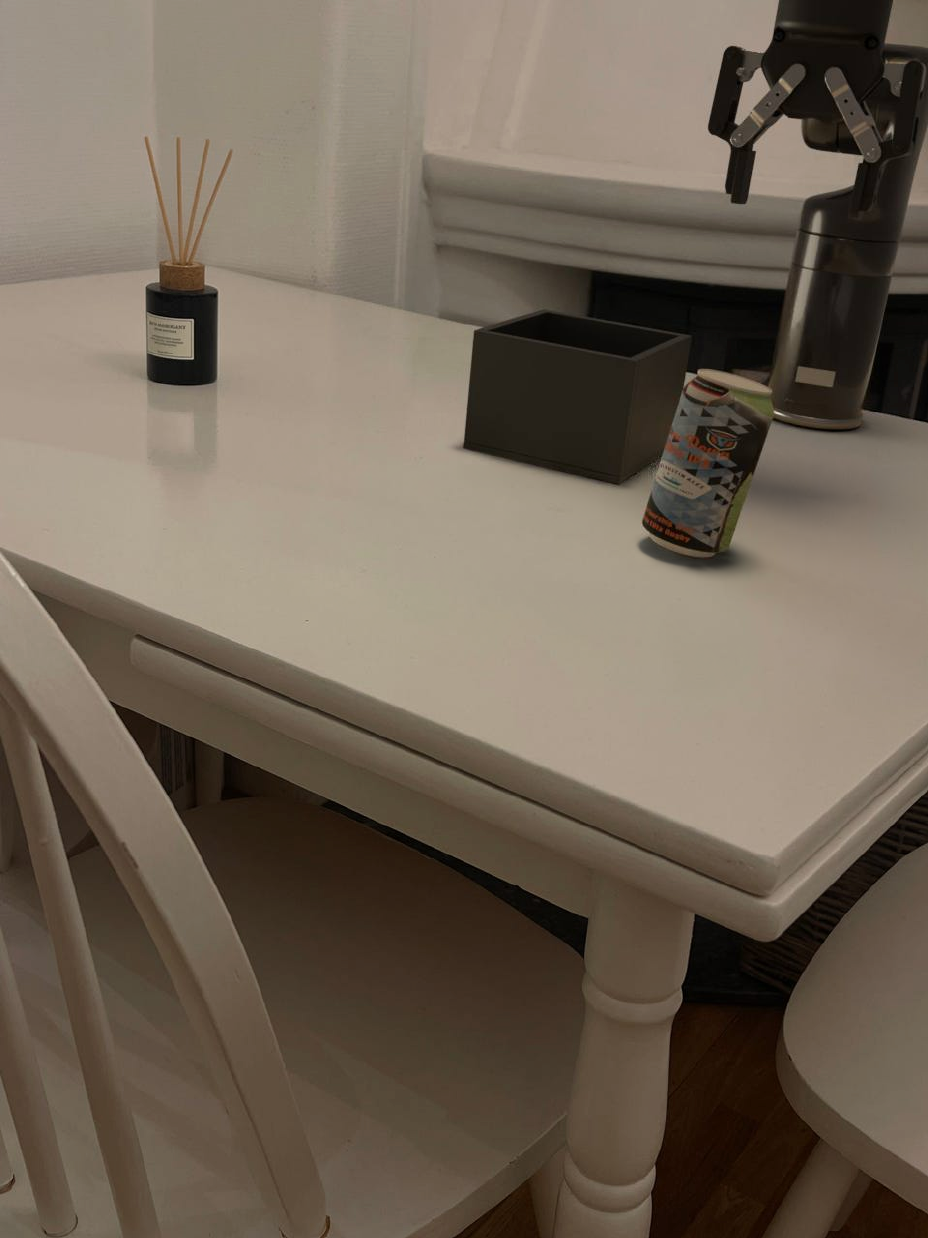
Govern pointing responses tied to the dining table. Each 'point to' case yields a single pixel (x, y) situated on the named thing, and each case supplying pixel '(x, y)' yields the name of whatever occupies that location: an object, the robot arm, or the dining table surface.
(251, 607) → the dining table surface
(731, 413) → the beverage can
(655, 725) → the dining table surface
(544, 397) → the waste bin
